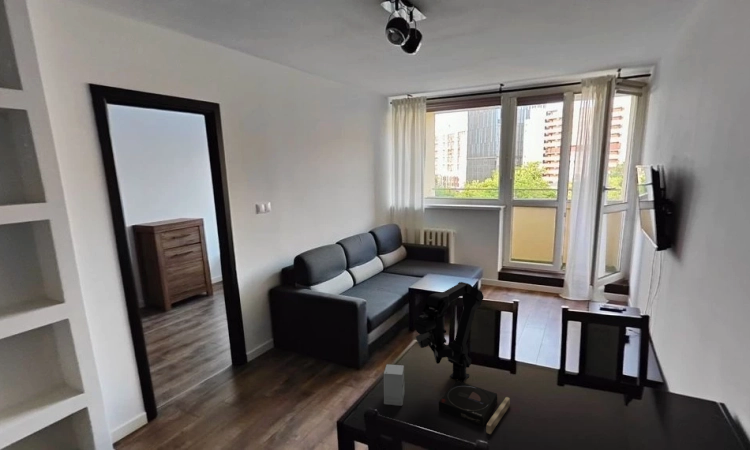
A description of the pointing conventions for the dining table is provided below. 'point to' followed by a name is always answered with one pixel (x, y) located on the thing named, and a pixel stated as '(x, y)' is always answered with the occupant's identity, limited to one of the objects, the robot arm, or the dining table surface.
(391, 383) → the supplement box
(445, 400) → the portable cd player
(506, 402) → the oak rail
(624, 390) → the dining table surface
